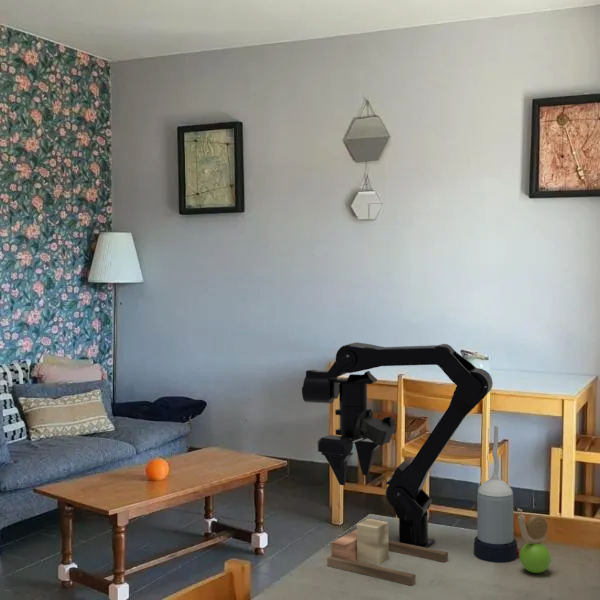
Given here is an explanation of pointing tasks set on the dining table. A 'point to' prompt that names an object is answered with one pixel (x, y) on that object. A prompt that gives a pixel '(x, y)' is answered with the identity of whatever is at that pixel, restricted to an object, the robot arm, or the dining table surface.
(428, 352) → the robot arm
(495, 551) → the humidifier
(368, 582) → the dining table surface
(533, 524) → the snail figurine
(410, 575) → the guide track
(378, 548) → the block
